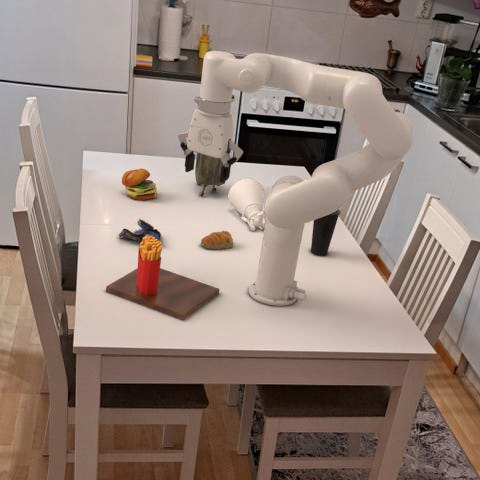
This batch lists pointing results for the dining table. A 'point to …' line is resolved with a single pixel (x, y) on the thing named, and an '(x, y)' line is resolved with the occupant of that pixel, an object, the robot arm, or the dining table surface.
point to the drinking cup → (323, 233)
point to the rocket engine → (248, 201)
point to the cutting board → (166, 293)
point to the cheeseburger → (139, 184)
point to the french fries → (148, 265)
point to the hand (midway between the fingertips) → (206, 175)
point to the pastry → (218, 240)
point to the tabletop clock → (208, 171)
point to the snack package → (141, 232)
